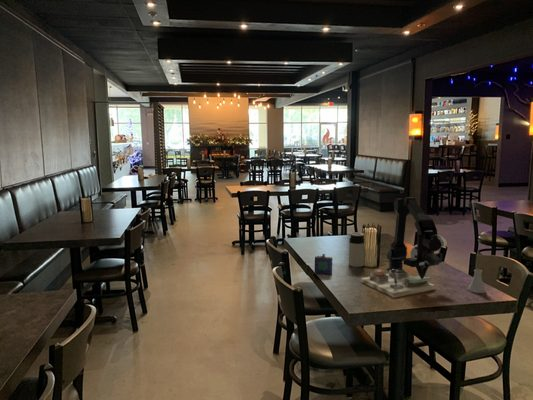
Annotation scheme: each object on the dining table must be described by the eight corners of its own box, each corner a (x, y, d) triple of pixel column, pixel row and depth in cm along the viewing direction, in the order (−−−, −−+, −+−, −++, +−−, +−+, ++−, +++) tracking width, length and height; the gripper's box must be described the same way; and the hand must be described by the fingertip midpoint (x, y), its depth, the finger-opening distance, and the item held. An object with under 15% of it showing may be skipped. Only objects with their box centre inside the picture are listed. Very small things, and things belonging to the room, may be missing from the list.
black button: (391, 274, 210) (391, 269, 210) (398, 273, 212) (398, 268, 211) (397, 277, 206) (397, 272, 206) (404, 275, 208) (404, 271, 207)
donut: (412, 263, 239) (413, 245, 237) (408, 261, 242) (409, 244, 241) (426, 261, 242) (427, 244, 241) (422, 259, 245) (423, 243, 244)
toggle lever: (393, 284, 193) (389, 269, 195) (396, 283, 194) (392, 268, 196) (396, 283, 192) (392, 268, 194) (399, 283, 193) (395, 268, 194)
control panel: (360, 282, 206) (361, 272, 205) (399, 275, 217) (400, 265, 216) (393, 297, 186) (394, 286, 185) (435, 289, 196) (435, 278, 196)
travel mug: (352, 267, 230) (353, 235, 227) (346, 263, 237) (347, 232, 235) (365, 266, 231) (366, 234, 229) (359, 262, 239) (360, 231, 236)
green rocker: (401, 281, 199) (401, 278, 199) (418, 278, 204) (418, 275, 204) (413, 283, 192) (413, 280, 192) (431, 279, 197) (431, 276, 197)
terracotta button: (372, 275, 205) (372, 270, 204) (379, 273, 206) (379, 269, 206) (378, 277, 201) (378, 272, 200) (385, 276, 202) (385, 271, 202)
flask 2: (475, 294, 190) (477, 273, 188) (464, 289, 197) (465, 268, 195) (489, 293, 192) (490, 272, 190) (477, 287, 198) (478, 267, 197)
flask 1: (332, 273, 219) (332, 253, 218) (331, 275, 217) (332, 255, 215) (314, 272, 221) (314, 252, 220) (314, 274, 219) (314, 254, 217)
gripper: (422, 252, 181) (420, 286, 183) (452, 247, 189) (450, 280, 191) (403, 246, 191) (401, 279, 193) (433, 242, 199) (431, 273, 201)
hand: (421, 278), depth 195 cm, fingers closed
